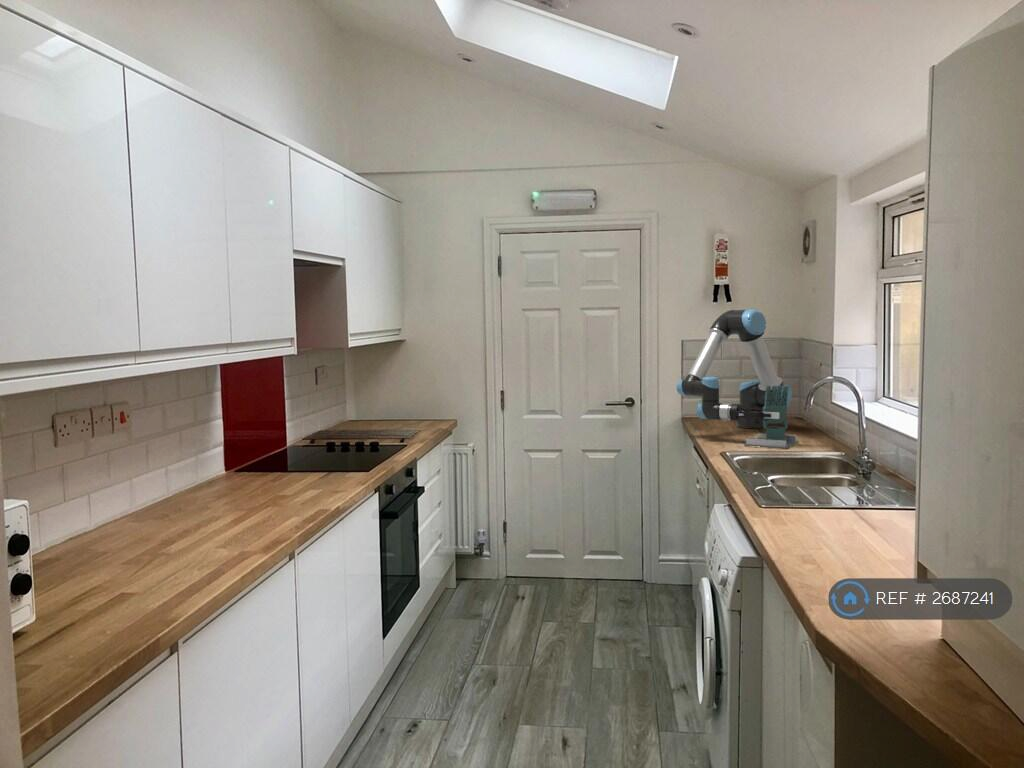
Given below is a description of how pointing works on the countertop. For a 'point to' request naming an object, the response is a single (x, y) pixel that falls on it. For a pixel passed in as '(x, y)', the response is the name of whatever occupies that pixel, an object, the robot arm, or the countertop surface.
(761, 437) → the rail dock
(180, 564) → the countertop surface
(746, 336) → the robot arm
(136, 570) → the countertop surface
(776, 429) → the robotic hand
